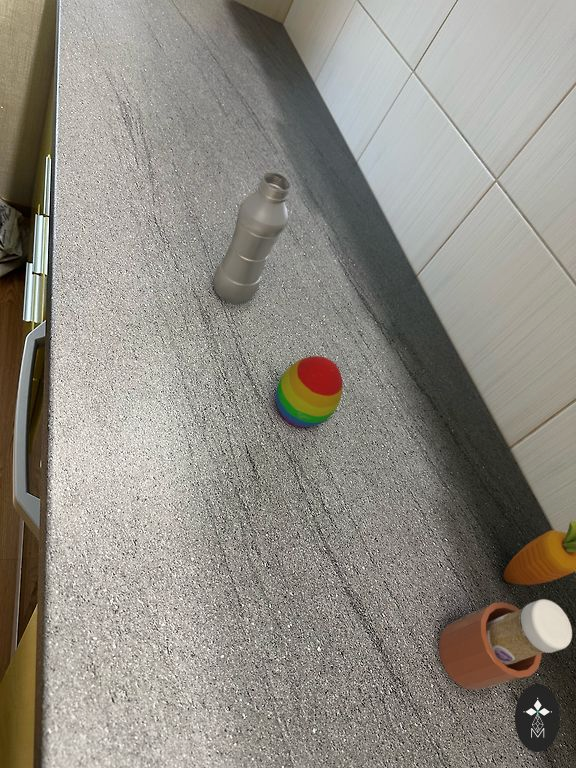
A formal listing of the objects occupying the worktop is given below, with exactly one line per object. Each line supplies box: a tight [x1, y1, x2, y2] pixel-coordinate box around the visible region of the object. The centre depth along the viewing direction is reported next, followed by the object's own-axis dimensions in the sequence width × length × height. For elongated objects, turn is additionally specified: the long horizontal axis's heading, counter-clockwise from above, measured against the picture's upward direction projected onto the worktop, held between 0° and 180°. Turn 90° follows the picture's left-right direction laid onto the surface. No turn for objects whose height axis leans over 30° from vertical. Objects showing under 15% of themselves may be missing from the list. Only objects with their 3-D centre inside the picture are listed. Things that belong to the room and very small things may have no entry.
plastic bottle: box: [212, 171, 292, 304], centre depth 78 cm, size 6×7×20 cm
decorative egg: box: [275, 355, 344, 428], centre depth 73 cm, size 8×8×10 cm
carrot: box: [502, 520, 576, 586], centre depth 67 cm, size 5×5×15 cm
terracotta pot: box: [438, 601, 543, 691], centre depth 62 cm, size 7×7×8 cm
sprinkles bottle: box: [486, 599, 573, 666], centre depth 59 cm, size 5×5×13 cm
